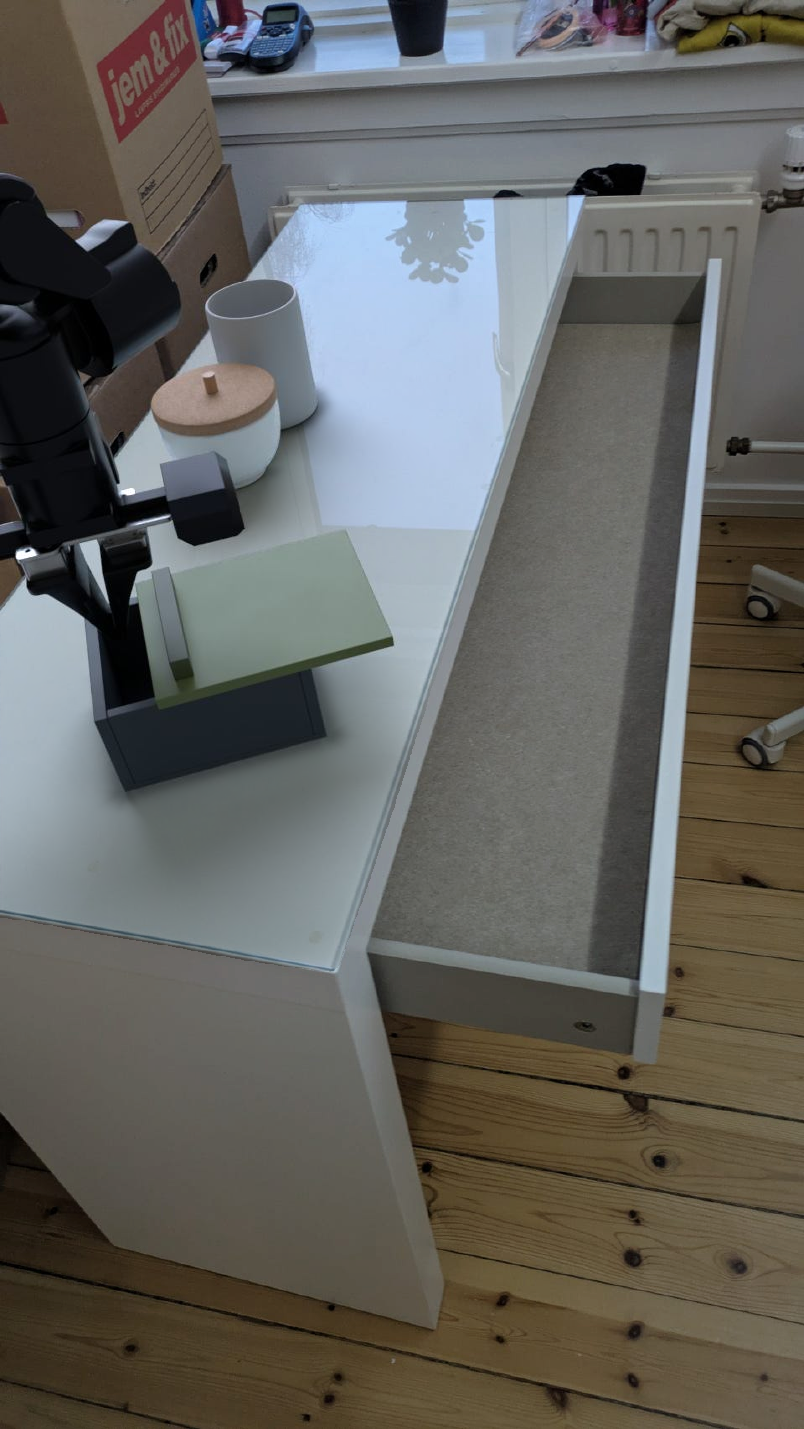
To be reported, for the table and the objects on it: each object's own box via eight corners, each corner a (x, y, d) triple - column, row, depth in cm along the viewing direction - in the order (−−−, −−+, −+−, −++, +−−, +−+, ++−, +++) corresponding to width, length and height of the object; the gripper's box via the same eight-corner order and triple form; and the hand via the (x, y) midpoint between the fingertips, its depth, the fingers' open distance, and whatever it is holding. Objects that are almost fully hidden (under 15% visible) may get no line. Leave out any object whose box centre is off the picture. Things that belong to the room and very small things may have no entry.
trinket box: (301, 437, 101) (281, 340, 94) (280, 503, 93) (257, 403, 87) (189, 442, 102) (163, 348, 96) (160, 508, 95) (129, 410, 88)
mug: (316, 427, 102) (295, 313, 94) (226, 437, 102) (198, 325, 95) (320, 366, 110) (301, 257, 103) (237, 376, 111) (212, 268, 103)
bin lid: (158, 710, 67) (148, 683, 65) (137, 592, 75) (128, 565, 74) (394, 646, 68) (390, 617, 67) (346, 538, 77) (342, 510, 76)
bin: (124, 792, 71) (94, 721, 66) (111, 679, 79) (83, 610, 75) (327, 736, 73) (310, 664, 68) (293, 631, 81) (276, 560, 76)
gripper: (189, 321, 66) (243, 535, 77) (-125, 390, 64) (-24, 600, 75) (214, 404, 58) (270, 630, 69) (-144, 486, 56) (-28, 706, 67)
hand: (120, 637), depth 70 cm, fingers closed
